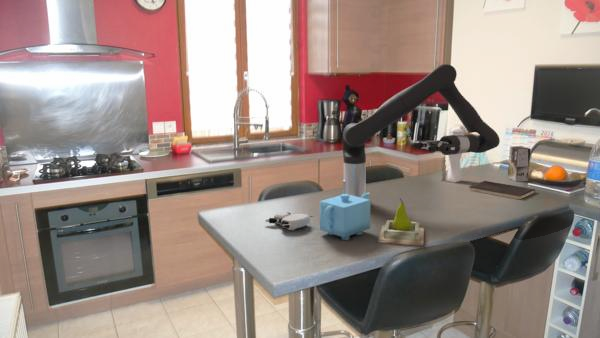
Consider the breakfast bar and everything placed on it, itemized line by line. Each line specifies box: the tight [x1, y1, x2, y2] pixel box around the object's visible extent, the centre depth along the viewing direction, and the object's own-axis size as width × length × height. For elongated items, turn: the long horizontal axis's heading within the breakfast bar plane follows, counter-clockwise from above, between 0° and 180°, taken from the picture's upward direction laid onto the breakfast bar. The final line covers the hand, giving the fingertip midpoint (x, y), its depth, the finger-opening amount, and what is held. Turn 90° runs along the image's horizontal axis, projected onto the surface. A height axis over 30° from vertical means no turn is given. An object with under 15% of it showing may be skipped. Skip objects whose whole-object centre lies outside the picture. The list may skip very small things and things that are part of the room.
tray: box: [378, 219, 425, 246], centre depth 150 cm, size 14×14×4 cm
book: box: [468, 180, 536, 200], centre depth 203 cm, size 16×23×2 cm
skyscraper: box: [441, 124, 465, 184], centre depth 221 cm, size 8×8×28 cm
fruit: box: [392, 197, 412, 231], centre depth 149 cm, size 6×6×12 cm
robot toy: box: [264, 212, 315, 231], centre depth 162 cm, size 12×4×15 cm
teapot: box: [319, 191, 371, 241], centre depth 153 cm, size 22×11×14 cm, turn 132°
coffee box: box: [507, 145, 532, 182], centre depth 223 cm, size 9×6×16 cm
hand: (420, 147), depth 168 cm, fingers open, 8 cm apart
